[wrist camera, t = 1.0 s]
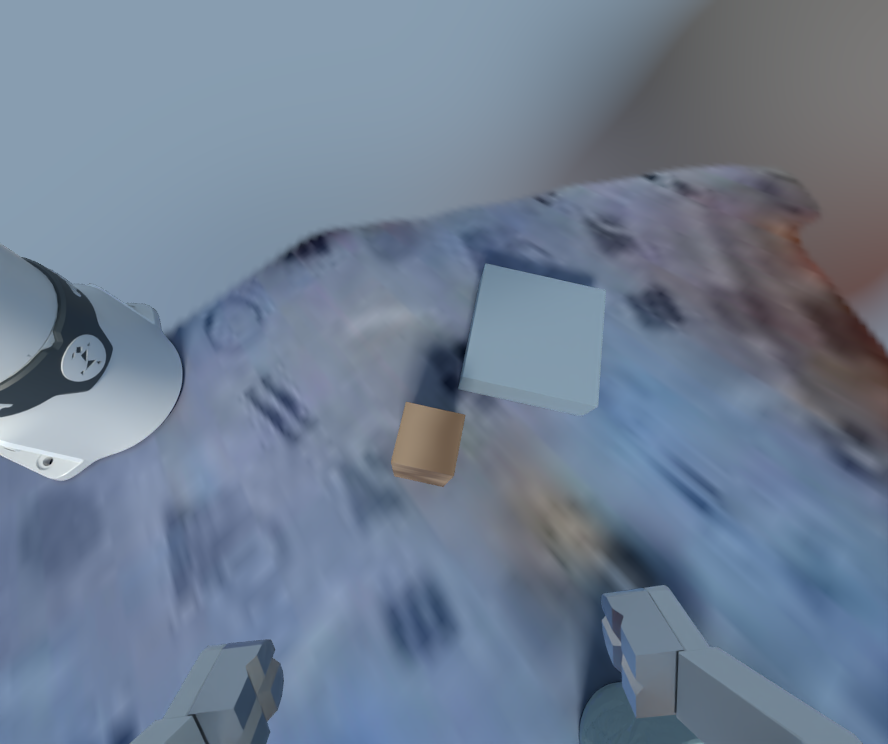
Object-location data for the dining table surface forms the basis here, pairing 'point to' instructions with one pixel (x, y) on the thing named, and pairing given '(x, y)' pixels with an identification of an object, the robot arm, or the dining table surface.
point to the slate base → (535, 341)
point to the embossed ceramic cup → (627, 722)
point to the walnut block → (427, 444)
